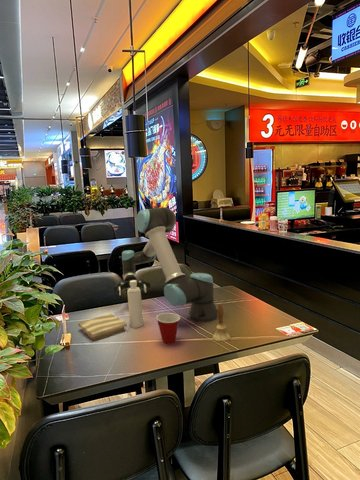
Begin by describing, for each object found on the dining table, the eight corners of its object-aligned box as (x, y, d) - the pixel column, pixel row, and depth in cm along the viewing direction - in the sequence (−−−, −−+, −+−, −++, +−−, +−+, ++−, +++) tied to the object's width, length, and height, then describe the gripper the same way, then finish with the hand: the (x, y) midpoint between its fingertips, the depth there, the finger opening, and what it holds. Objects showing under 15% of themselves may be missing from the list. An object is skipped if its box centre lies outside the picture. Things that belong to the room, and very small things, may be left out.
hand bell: (226, 343, 159) (224, 308, 156) (209, 339, 163) (207, 306, 161) (233, 335, 166) (232, 302, 163) (217, 332, 170) (216, 300, 168)
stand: (127, 330, 178) (126, 323, 177) (92, 342, 167) (92, 334, 167) (111, 320, 192) (110, 313, 191) (78, 330, 182) (78, 322, 181)
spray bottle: (131, 322, 188) (127, 276, 183) (144, 322, 187) (140, 276, 183) (128, 327, 181) (124, 280, 177) (141, 327, 180) (137, 279, 176)
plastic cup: (178, 347, 157) (177, 321, 155) (155, 346, 160) (153, 320, 157) (183, 336, 168) (182, 312, 166) (161, 335, 170) (159, 311, 168)
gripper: (151, 284, 215) (156, 295, 194) (109, 288, 210) (109, 300, 190) (151, 272, 213) (155, 282, 193) (108, 276, 209) (108, 287, 188)
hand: (132, 291), depth 191 cm, fingers open, 13 cm apart
